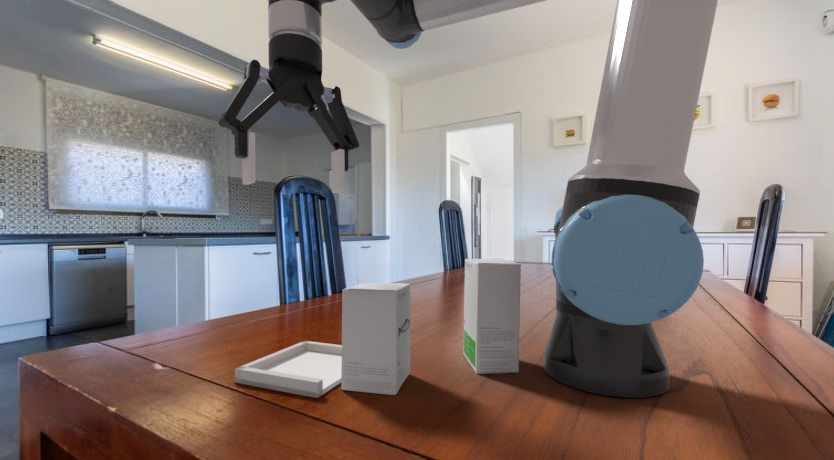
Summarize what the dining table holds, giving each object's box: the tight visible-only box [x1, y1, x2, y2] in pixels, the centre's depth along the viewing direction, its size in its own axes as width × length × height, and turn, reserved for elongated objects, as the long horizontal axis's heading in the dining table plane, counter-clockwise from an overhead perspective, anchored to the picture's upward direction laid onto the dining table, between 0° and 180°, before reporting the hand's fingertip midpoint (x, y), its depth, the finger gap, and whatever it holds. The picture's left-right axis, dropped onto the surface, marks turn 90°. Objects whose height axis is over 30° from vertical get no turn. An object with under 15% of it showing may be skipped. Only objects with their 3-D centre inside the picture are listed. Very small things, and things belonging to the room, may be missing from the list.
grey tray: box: [234, 340, 342, 399], centre depth 51 cm, size 13×14×2 cm
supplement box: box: [340, 282, 411, 396], centre depth 47 cm, size 7×7×13 cm
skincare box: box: [462, 258, 522, 375], centre depth 54 cm, size 8×7×16 cm
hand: (297, 188), depth 53 cm, fingers open, 13 cm apart
